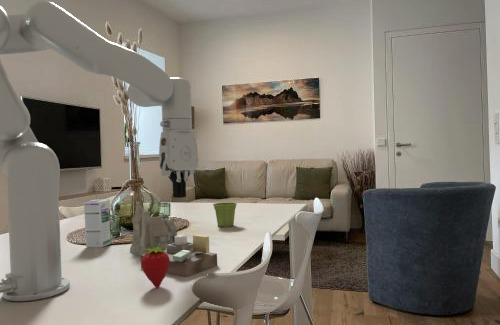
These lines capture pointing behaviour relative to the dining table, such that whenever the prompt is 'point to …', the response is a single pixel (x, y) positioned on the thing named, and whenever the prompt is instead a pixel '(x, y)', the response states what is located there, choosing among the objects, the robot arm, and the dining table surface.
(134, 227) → the grey irregular lump
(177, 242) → the grey push button
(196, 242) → the beige flat square block
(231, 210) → the plant pot
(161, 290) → the dining table surface
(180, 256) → the sage rocker
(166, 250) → the switch panel
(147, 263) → the strawberry
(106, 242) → the syrup box
